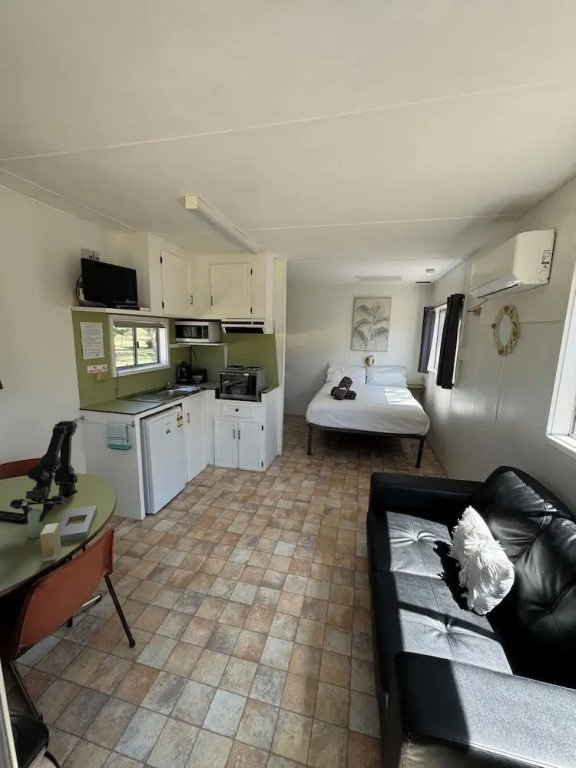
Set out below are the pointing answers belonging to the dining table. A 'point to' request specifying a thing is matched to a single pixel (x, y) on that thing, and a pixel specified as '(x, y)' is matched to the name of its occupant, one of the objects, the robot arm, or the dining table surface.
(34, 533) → the sage peg
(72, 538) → the holder block
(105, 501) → the dining table surface
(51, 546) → the skincare box
